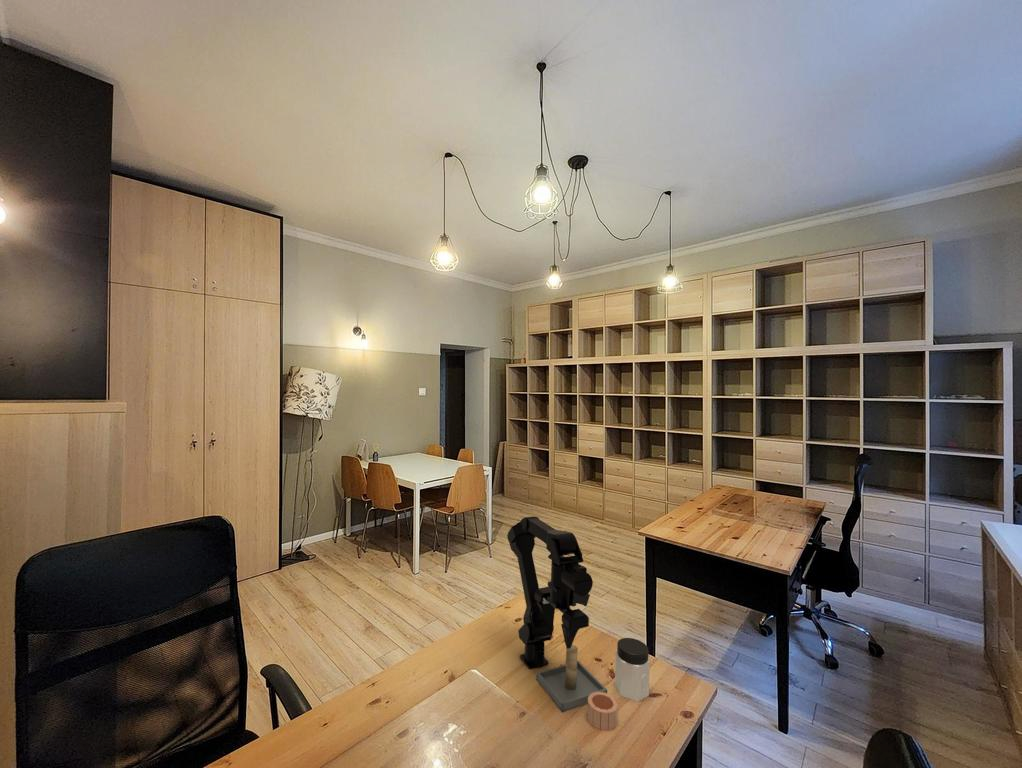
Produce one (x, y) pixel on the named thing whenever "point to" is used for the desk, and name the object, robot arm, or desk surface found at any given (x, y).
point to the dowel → (571, 668)
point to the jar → (632, 669)
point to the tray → (560, 694)
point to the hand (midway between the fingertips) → (559, 638)
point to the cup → (602, 711)
